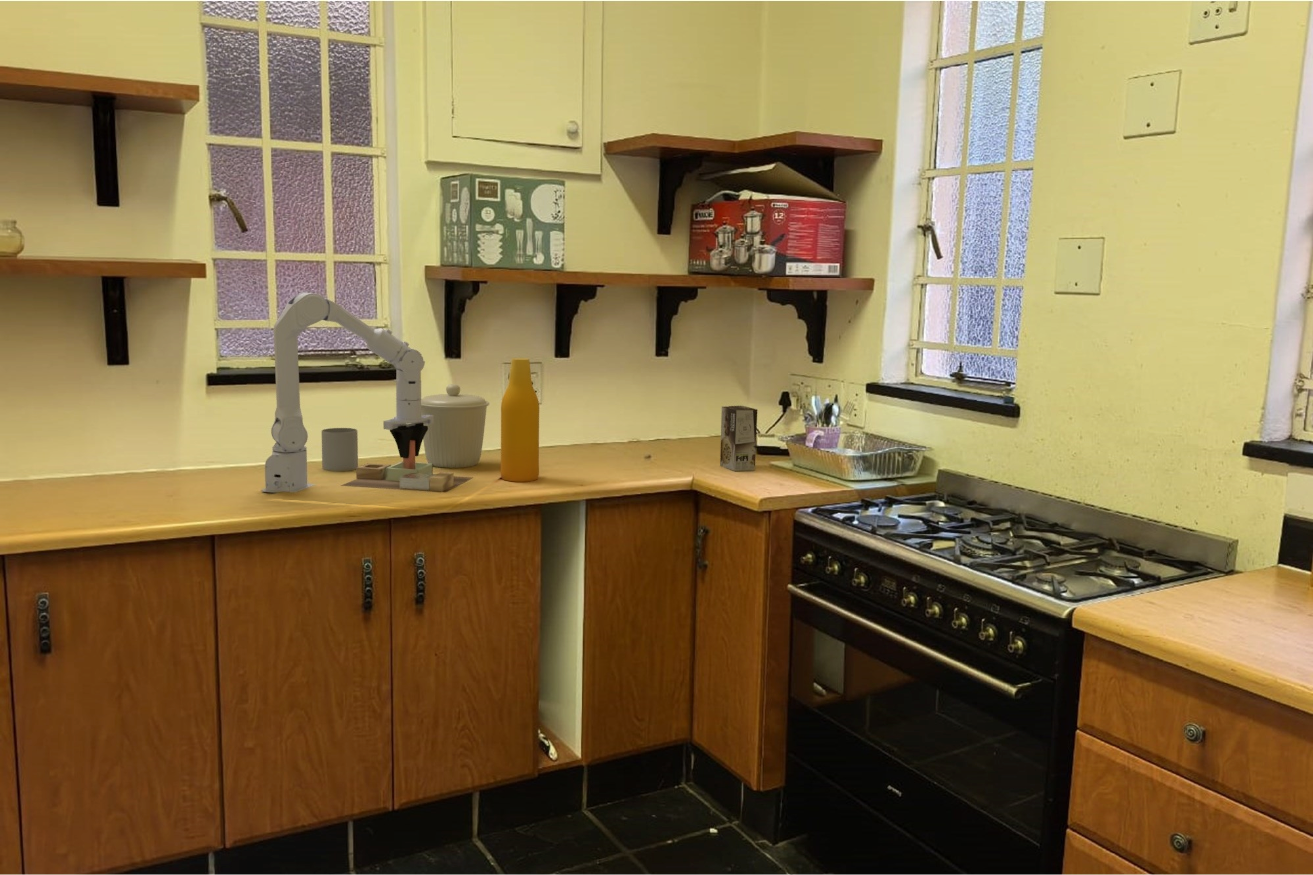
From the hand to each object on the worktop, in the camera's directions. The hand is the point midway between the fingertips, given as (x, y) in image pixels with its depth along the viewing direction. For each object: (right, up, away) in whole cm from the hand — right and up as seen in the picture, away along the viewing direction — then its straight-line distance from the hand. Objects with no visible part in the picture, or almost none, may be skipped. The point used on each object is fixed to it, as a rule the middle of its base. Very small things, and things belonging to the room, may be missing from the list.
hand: (409, 456), depth 246 cm
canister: (+6, -3, +21) cm, 22 cm away
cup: (-20, -4, +11) cm, 23 cm away
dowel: (0, -3, 0) cm, 3 cm away
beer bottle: (+25, -6, +7) cm, 27 cm away
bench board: (+1, -6, -3) cm, 7 cm away
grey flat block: (+5, -7, -9) cm, 12 cm away
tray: (0, -5, +1) cm, 5 cm away
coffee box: (+80, -4, +29) cm, 85 cm away
